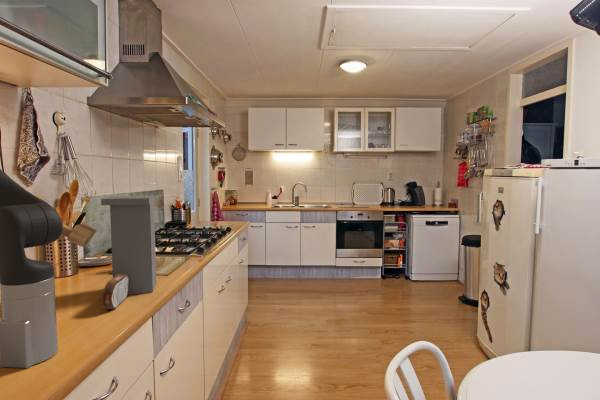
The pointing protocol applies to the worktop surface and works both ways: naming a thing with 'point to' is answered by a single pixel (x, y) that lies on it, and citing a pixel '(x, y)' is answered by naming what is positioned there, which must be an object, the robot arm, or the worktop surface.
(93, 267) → the worktop surface
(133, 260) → the stand
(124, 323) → the worktop surface
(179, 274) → the worktop surface
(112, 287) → the tin
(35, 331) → the robot arm
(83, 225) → the brown wooden block
